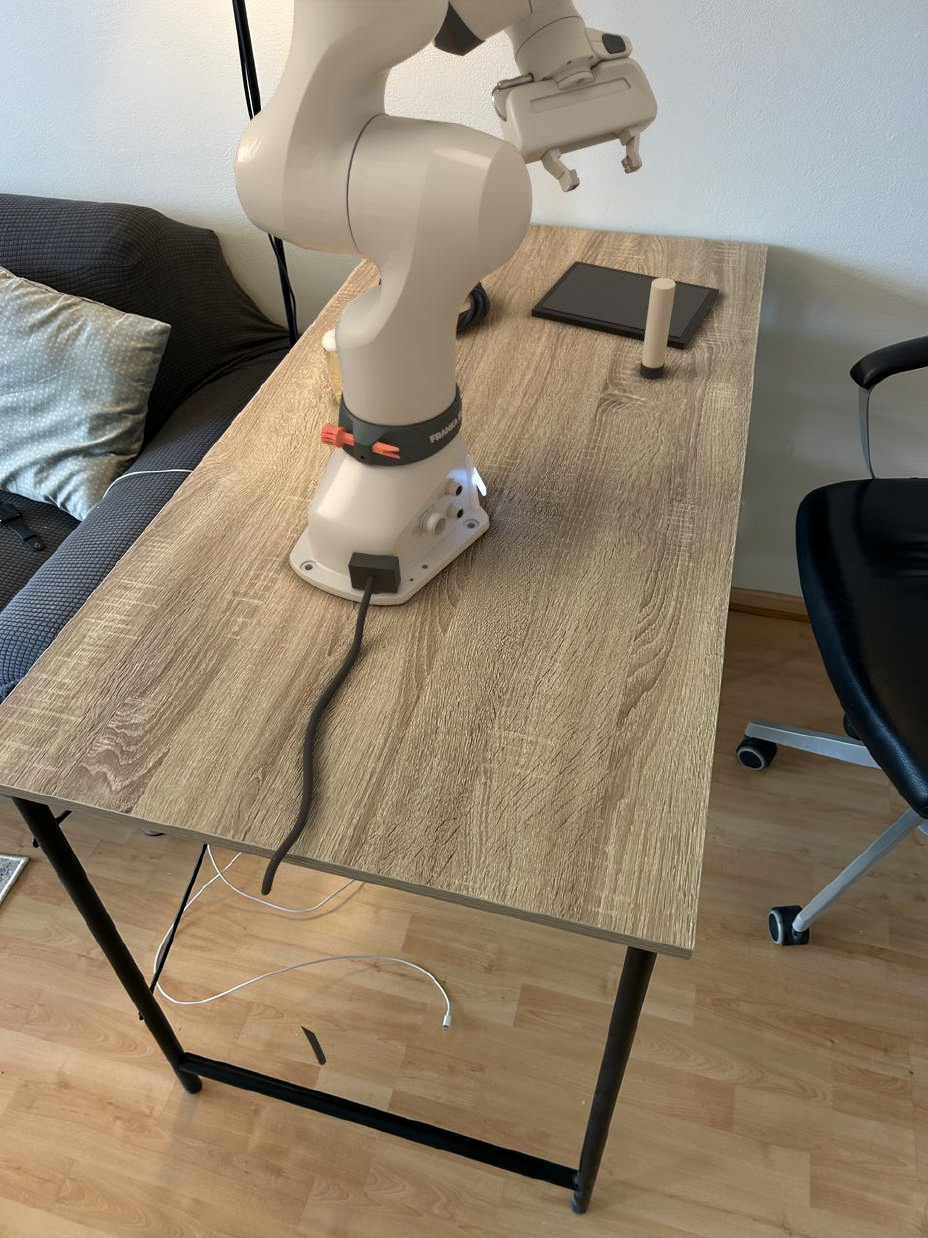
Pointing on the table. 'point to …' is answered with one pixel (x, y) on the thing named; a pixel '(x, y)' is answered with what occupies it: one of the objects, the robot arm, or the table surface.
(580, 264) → the tablet
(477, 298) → the cable
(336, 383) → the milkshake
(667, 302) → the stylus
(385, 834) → the table surface
